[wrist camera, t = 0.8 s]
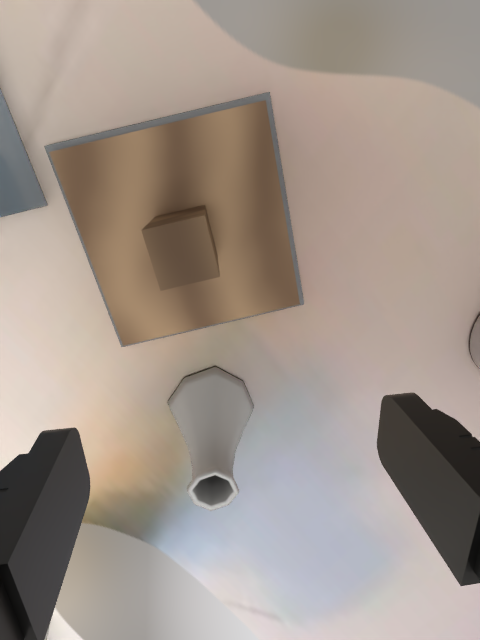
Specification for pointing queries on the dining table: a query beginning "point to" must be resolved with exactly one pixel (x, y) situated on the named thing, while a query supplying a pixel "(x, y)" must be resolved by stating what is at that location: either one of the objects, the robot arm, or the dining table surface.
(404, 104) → the dining table surface
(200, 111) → the rubber mat
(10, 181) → the blue storage bin
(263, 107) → the walnut lid
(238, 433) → the flask
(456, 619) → the dining table surface
